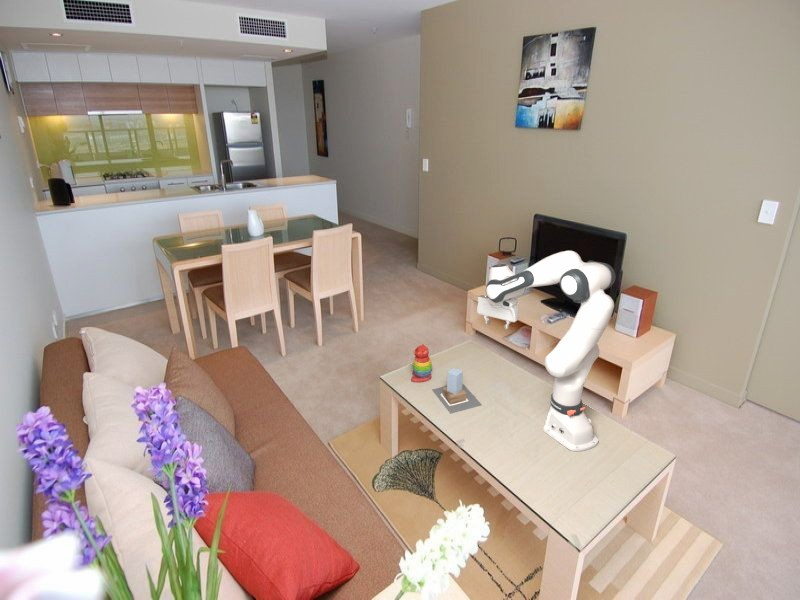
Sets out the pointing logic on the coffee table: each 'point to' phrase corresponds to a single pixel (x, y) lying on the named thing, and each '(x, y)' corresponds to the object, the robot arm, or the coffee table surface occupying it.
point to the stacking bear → (421, 365)
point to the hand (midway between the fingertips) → (496, 326)
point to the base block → (454, 396)
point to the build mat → (459, 406)
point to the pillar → (454, 381)
